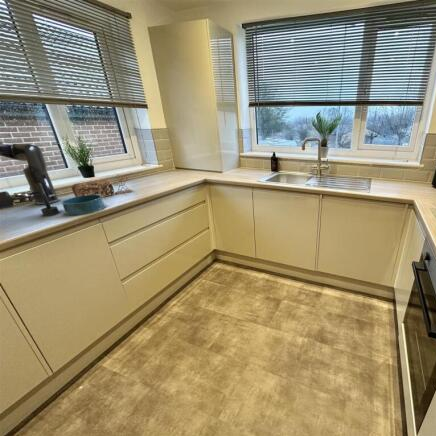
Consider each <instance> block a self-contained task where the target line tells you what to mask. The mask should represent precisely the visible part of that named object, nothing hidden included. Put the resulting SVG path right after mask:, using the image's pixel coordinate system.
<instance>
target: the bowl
mask: <svg viewBox="0 0 436 436" xmlns="http://www.w3.org/2000/svg"><path fill="white" fill-rule="evenodd" d="M61 205H62V207H63V210H64V212H65V214H66V215H67V216H81V215H88V214H93V213H96V212H99V211H101V210H103V209H104V208H105V207H106V205H105V202H104V199H103V197H102V196H101V195H85V196H79V197H75V196H74V197H70V198H67V199H64V200H62V201H61Z"/></svg>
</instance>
